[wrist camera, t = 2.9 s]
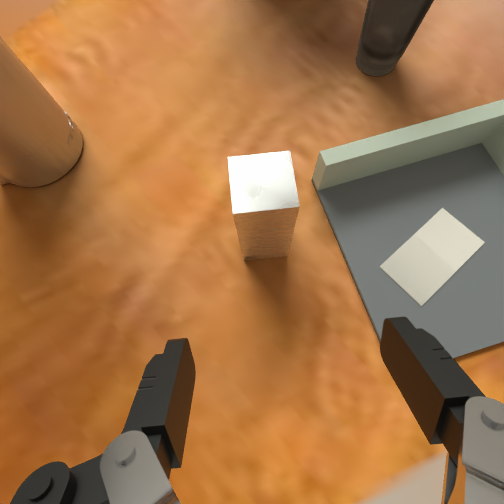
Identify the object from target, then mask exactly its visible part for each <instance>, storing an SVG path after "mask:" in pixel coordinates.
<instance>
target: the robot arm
mask: <svg viewBox="0 0 504 504" xmlns="http://www.w3.org/2000/svg"><path fill="white" fill-rule="evenodd" d="M82 147H83V138H82V135H81V132H80V130H79V128H78V127H77V126H76V124H75V123H74V122H73V121H72V120H71V118H70V117H69V116H68V114H67V113H66V112H65V111H64V110H63V109H62V108H61V107H60V106H59V105H58V103H57V102H56V101H55V100H54V99H53V97H52V96H51V95H50V94H49V93H48V92H47V90H46V89H45V88H44V87H43V86H42V85H41V83H40V82H39V81H38V80H37V79H36V78H35V76H34V75H33V74H32V73H31V72H30V71H29V69H28V68H27V67H26V66H25V65H24V64H23V62H22V61H21V60H20V59H19V58H18V57H17V55H16V54H15V53H14V52H13V51H12V50H11V48H10V47H9V46H8V45H7V44H6V43H5V41H4V40H3V39H2V38H1V37H0V185H3V184H7V183H12V184H15V185H18V186H21V187H39V186H43V185H47V184H49V183H52V182H54V181H56V180H58V179H59V178H61V177H62V176H64V175H65V174H66V173H67V172H68V171H69V170H70V169H72V167H73V166H74V165H75V163H76V162H77V160H78V158H79V156H80V154H81V151H82ZM380 352H381V356H382V359H383V361H384V363H385V365H386V367H387V369H388V370H389V372H390V374H391V376H392V378H393V379H394V381H395V383H396V385H397V386H398V388H399V390H400V392H401V393H402V395H403V397H404V399H405V401H406V402H407V404H408V406H409V408H410V409H411V411H412V413H413V415H414V417H415V418H416V420H417V422H418V424H419V425H420V427H421V429H422V431H423V432H424V434H425V436H426V438H427V440H428V441H429V443H430V445H431V444H441V443H443V444H444V446H445V448H446V449H447V451H448V453H447V456H446V465H445V475H444V484H443V494H442V503H441V504H504V404H503V403H501V402H499V401H497V400H494V399H491V398H488V397H486V396H485V395H484V394H483V393H482V392H481V391H480V389H479V388H478V387H477V386H476V385H475V384H474V382H473V381H472V380H471V379H470V378H469V376H468V375H467V374H466V373H465V372H464V371H463V369H462V368H461V367H460V366H459V365H458V363H457V362H456V361H455V360H453V359H452V356H451V355H450V354H449V353H448V352H447V351H446V350H445V349H444V347H443V346H442V345H441V343H440V342H439V341H438V340H437V339H436V338H435V337H434V336H433V335H431V334H430V333H428V332H427V331H425V330H424V329H422V328H418V329H416V328H415V327H414V325H413V324H412V323H411V322H410V320H409V319H408V318H407V317H405V316H403V317H393V318H385V319H384V322H383V329H382V336H381V343H380ZM194 384H195V364H194V360H193V356H192V352H191V349H190V345H189V341H188V339H187V338H181V339H172V340H168V341H167V343H166V346H165V350H164V353H163V354H156V355H155V356H154V357H153V358H152V359H151V360H150V362H149V363H148V364H147V365H146V368H145V371H144V373H143V376H142V380H141V382H140V385H139V387H138V388H139V389H138V390H137V393H136V396H135V399H134V401H133V404H132V407H131V410H130V412H129V415H128V418H127V421H126V424H125V426H124V429H123V431H122V433H121V435H119V436H118V437H117V438H115V439H114V440H113V441H112V442H111V443H110V444H109V445H108V446H107V448H106V449H105V451H104V453H103V454H101V455H99V456H97V457H95V458H93V459H91V460H89V461H86V462H84V463H82V464H79V465H77V466H75V467H72V468H70V469H69V468H68V466H67V465H66V464H65V463H63V462H51V463H48V464H46V465H44V466H42V467H40V468H39V469H37V470H36V471H34V472H33V473H32V474H31V475H30V476H29V477H28V478H27V479H26V480H25V481H24V482H23V483H22V484H21V486H20V487H19V489H18V490H17V492H16V494H15V495H14V497H13V499H12V501H11V503H10V504H180V502H179V500H178V498H177V496H176V494H175V493H174V491H173V489H172V487H171V485H170V483H169V477H170V471H171V469H172V468H181V464H182V458H183V452H184V446H185V439H186V433H187V427H188V421H189V415H190V409H191V402H192V396H193V390H194Z"/></svg>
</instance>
